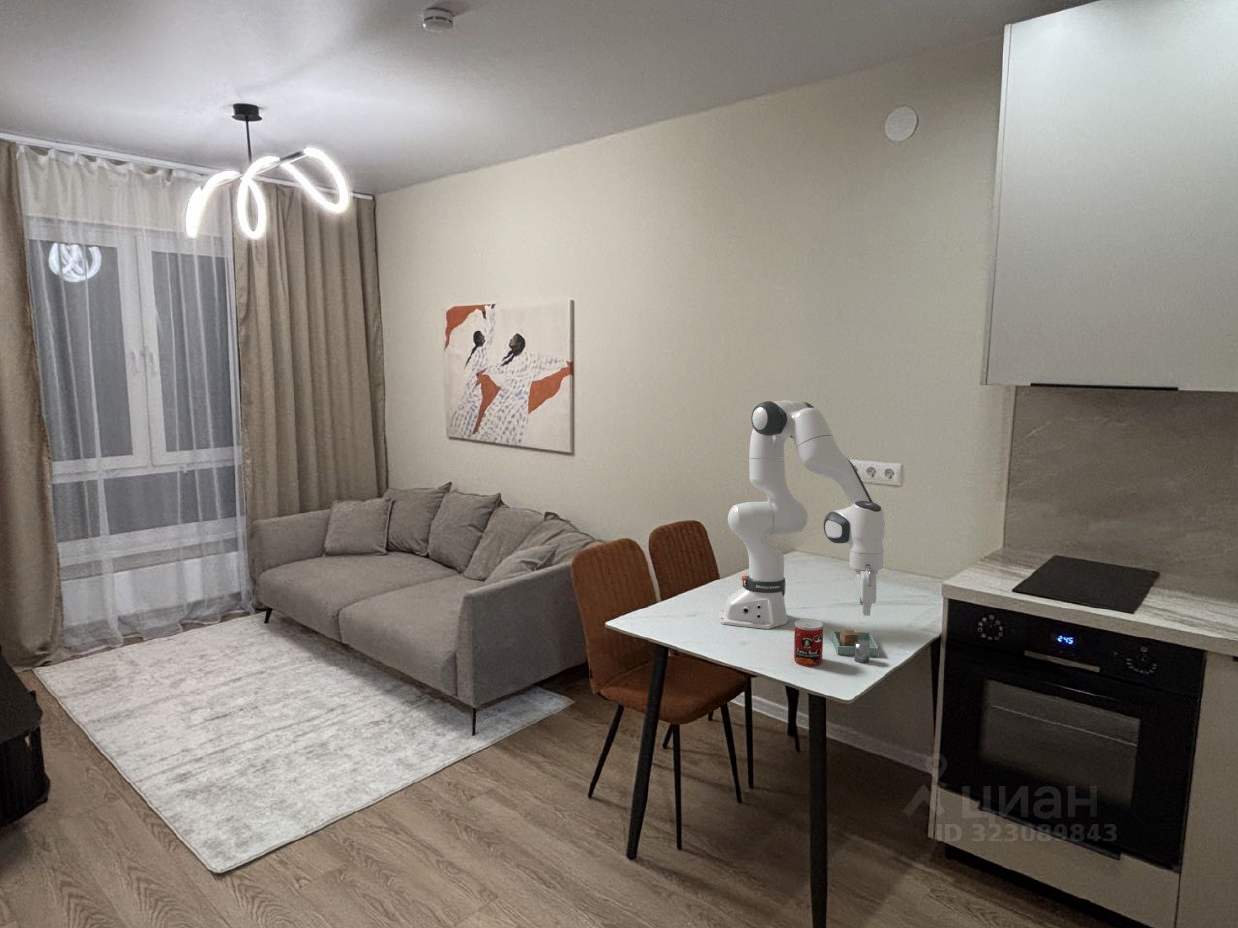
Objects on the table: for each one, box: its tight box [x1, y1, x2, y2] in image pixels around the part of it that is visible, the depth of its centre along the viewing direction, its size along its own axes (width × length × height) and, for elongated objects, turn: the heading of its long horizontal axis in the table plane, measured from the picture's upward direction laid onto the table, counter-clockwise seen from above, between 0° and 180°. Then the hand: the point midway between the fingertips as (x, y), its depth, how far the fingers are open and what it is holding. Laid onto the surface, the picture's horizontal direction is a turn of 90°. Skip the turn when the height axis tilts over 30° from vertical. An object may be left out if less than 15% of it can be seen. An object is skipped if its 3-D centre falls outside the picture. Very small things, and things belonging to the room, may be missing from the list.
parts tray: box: [830, 630, 880, 658], centre depth 220 cm, size 11×13×2 cm
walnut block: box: [839, 629, 859, 647], centre depth 217 cm, size 4×4×5 cm
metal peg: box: [853, 641, 871, 665], centre depth 210 cm, size 4×4×5 cm
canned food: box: [793, 618, 824, 667], centre depth 209 cm, size 8×8×11 cm
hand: (864, 609), depth 209 cm, fingers open, 8 cm apart
